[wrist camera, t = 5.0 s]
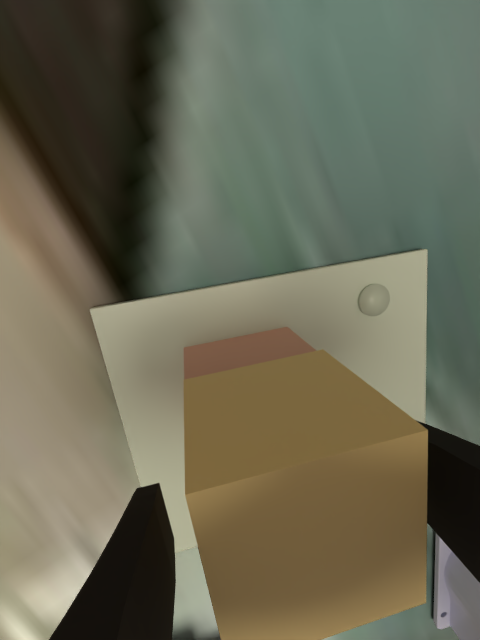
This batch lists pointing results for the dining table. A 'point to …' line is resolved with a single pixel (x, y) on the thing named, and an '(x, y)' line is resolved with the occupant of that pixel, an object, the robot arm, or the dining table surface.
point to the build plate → (253, 317)
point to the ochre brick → (304, 498)
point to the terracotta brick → (242, 351)
